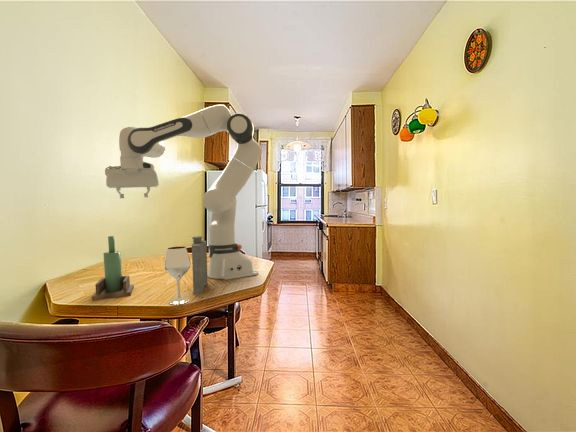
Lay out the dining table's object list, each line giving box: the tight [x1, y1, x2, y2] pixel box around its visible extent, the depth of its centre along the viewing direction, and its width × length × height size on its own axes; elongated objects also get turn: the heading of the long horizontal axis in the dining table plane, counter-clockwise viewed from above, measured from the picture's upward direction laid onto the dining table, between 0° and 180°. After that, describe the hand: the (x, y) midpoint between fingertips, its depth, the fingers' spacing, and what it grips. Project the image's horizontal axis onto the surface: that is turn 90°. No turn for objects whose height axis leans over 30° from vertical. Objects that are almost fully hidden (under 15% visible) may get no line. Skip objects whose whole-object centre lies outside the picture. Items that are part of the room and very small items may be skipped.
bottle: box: [103, 235, 123, 292], centre depth 115 cm, size 6×6×20 cm
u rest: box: [91, 274, 135, 301], centre depth 115 cm, size 12×12×5 cm
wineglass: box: [163, 246, 192, 306], centre depth 102 cm, size 8×8×18 cm
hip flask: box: [191, 236, 209, 295], centre depth 118 cm, size 16×4×20 cm, turn 6°
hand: (134, 197), depth 134 cm, fingers open, 8 cm apart
